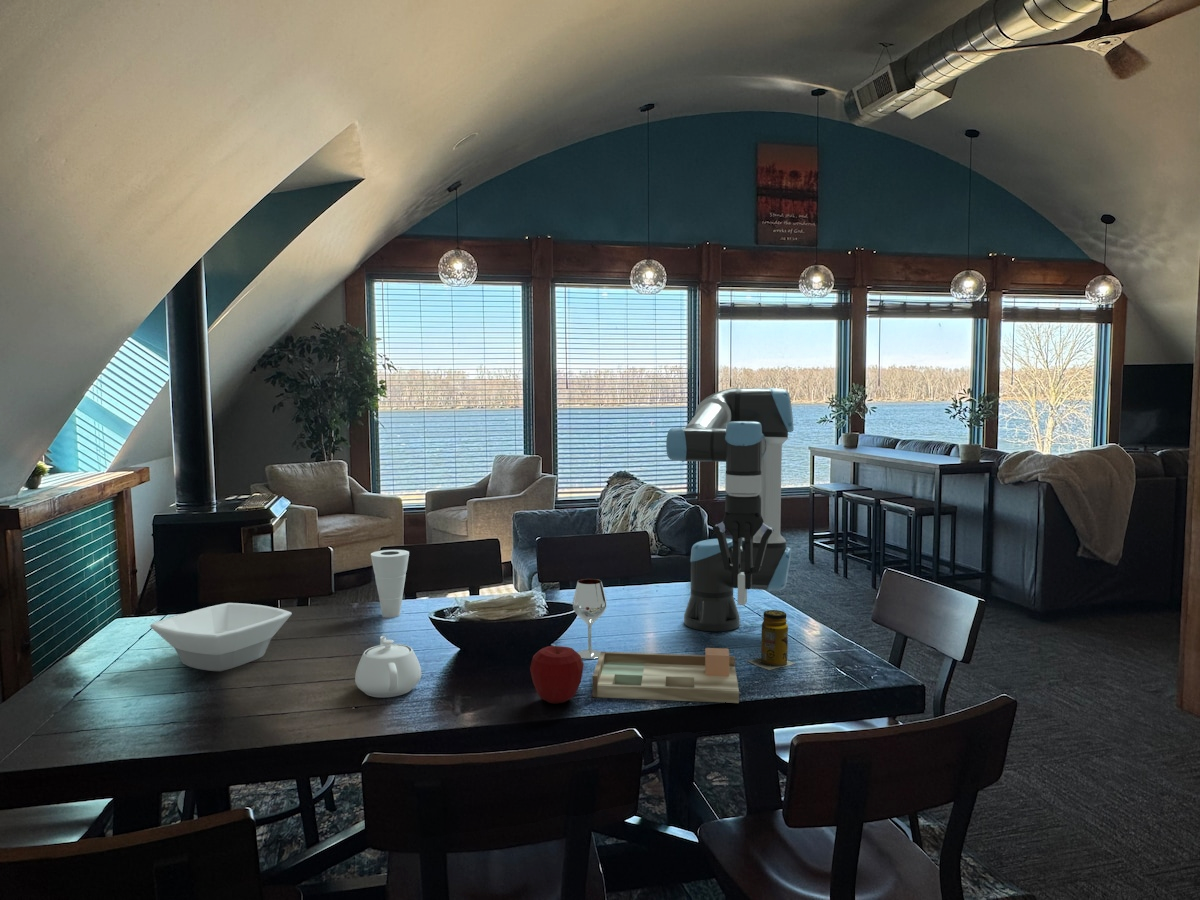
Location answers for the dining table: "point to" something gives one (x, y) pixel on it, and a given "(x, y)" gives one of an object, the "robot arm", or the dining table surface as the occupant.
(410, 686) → the teapot
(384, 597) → the cup
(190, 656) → the bowl
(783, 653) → the condiment
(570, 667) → the apple
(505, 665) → the dining table surface
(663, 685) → the tray
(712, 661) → the block
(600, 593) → the wineglass
